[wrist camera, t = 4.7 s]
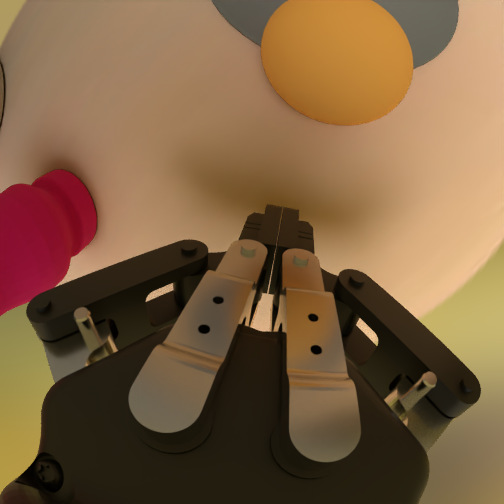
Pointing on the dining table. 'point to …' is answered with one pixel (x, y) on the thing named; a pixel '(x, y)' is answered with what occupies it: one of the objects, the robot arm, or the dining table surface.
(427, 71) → the dining table surface
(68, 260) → the pepper mill
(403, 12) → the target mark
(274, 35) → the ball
